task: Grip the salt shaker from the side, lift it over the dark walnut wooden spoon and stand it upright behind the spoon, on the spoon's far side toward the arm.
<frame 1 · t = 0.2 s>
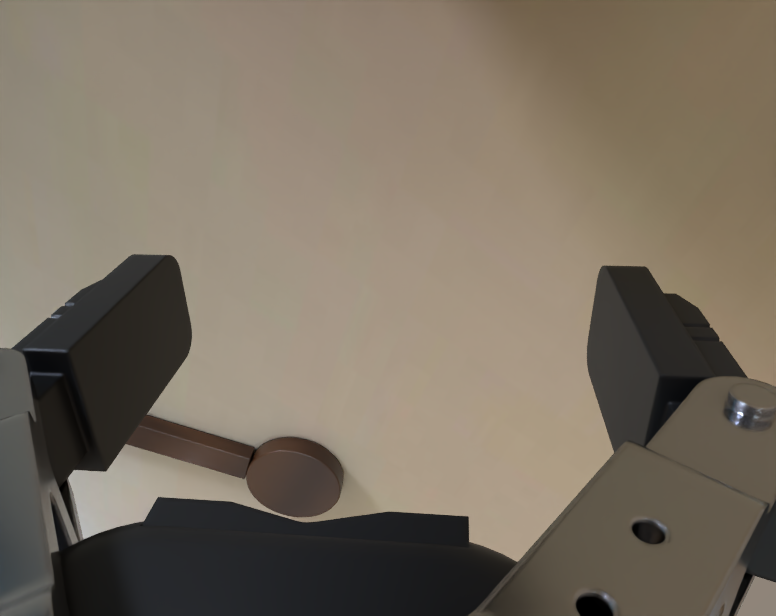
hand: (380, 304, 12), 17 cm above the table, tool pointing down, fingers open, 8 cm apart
wooden spoon: (190, 439, 39), on the table
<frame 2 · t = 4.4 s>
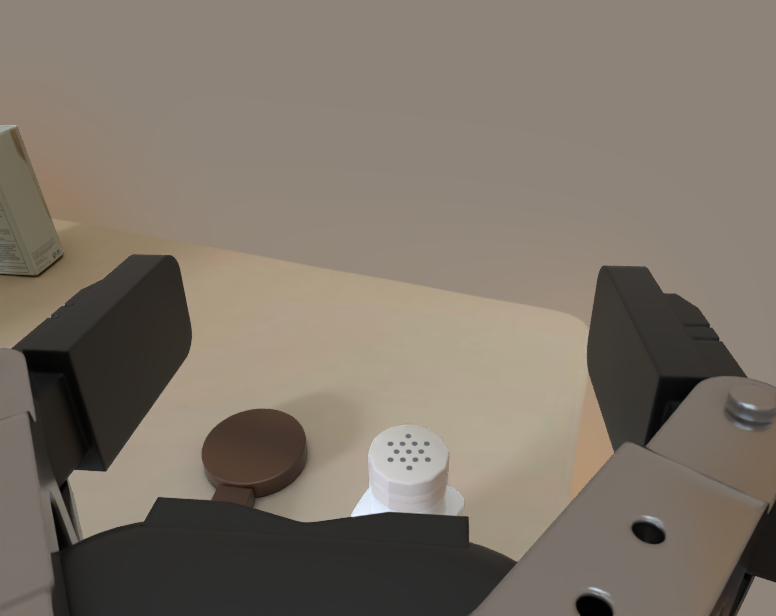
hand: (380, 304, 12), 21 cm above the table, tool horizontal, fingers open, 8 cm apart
salt shaker: (406, 593, 30), on the table
cosmetic box: (21, 265, 57), on the table
wooden spoon: (209, 561, 31), on the table
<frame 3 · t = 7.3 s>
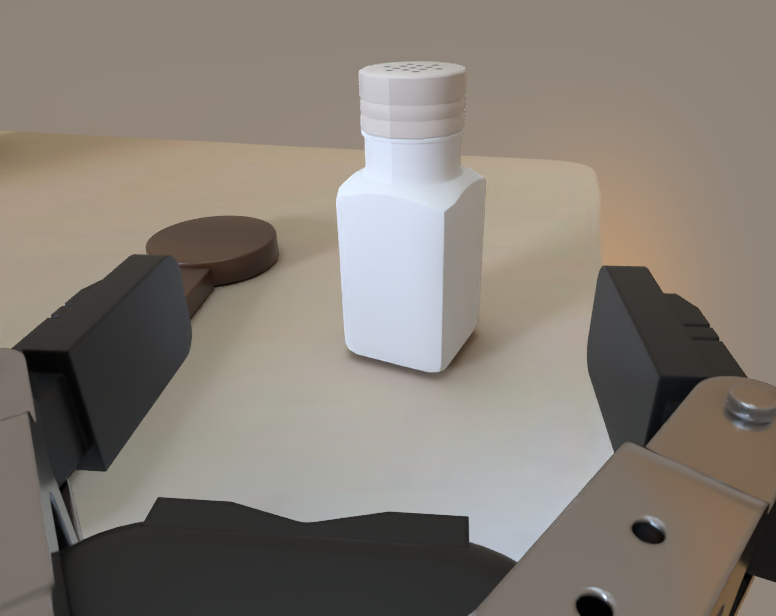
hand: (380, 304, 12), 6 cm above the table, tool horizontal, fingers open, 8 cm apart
salt shaker: (413, 346, 23), on the table
wooden spoon: (153, 334, 24), on the table
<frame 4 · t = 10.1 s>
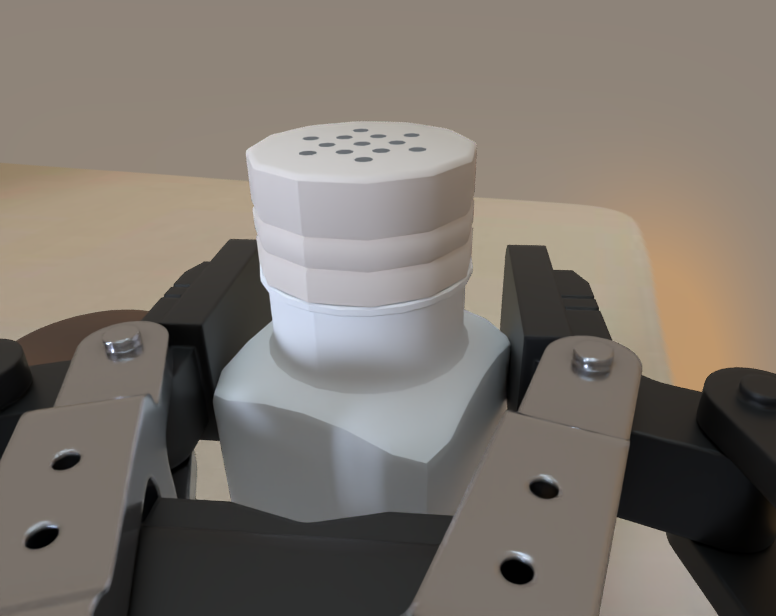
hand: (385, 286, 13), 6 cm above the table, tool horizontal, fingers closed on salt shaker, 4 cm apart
salt shaker: (379, 603, 13), on the table, touching gripper
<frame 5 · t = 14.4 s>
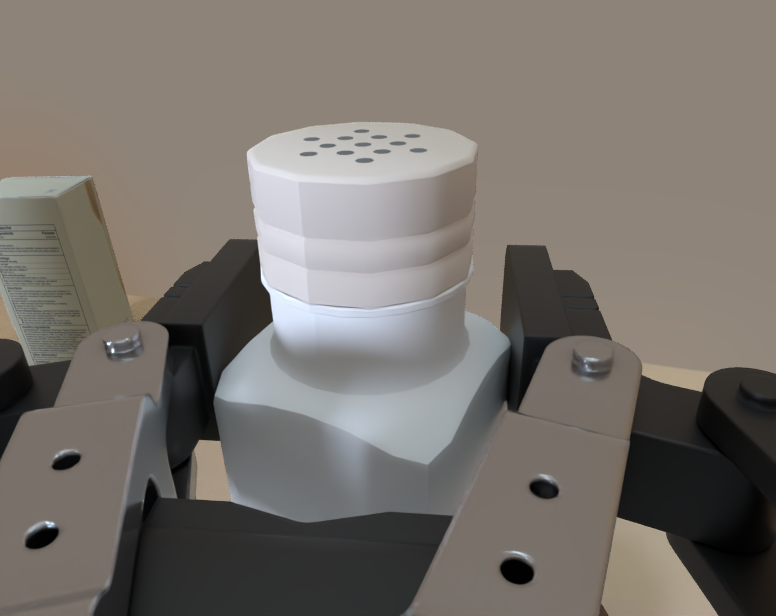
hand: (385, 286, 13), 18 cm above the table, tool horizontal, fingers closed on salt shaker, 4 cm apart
salt shaker: (379, 604, 13), point 11 cm above the table, touching gripper
cosmetic box: (84, 354, 44), on the table
when the fingers open (6 cm above the table, at t = 18.7 s): salt shaker stays where it is, on the table.
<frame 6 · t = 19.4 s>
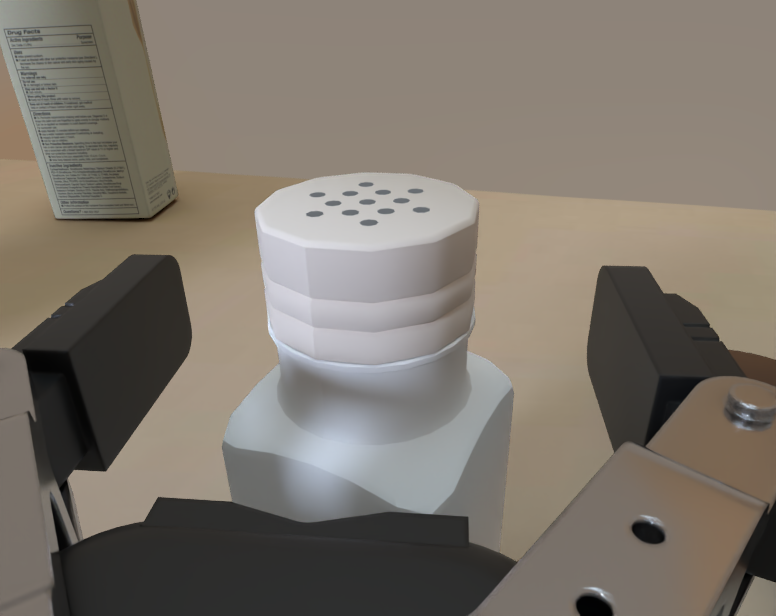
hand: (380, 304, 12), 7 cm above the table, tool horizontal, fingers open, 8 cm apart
cosmetic box: (117, 211, 38), on the table
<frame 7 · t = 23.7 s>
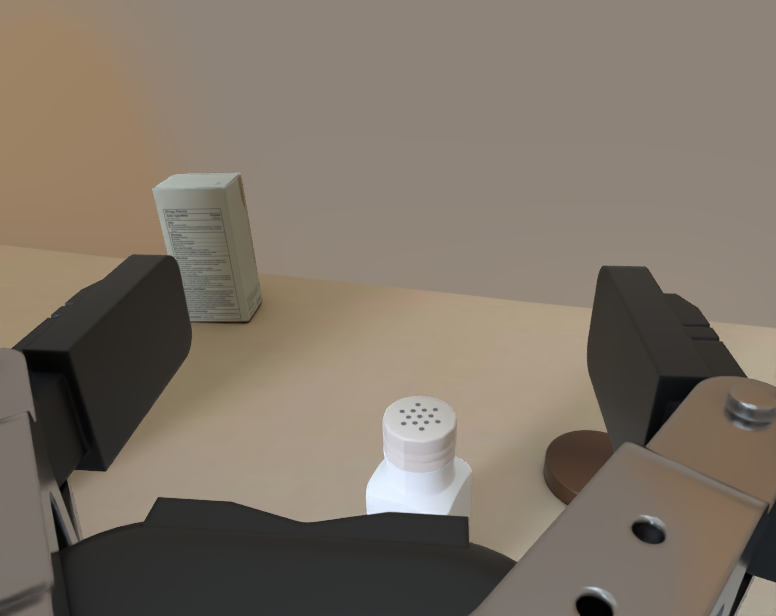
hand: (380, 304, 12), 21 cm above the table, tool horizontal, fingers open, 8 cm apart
salt shaker: (419, 571, 31), on the table
cosmetic box: (222, 313, 56), on the table
wooden spoon: (623, 580, 30), on the table
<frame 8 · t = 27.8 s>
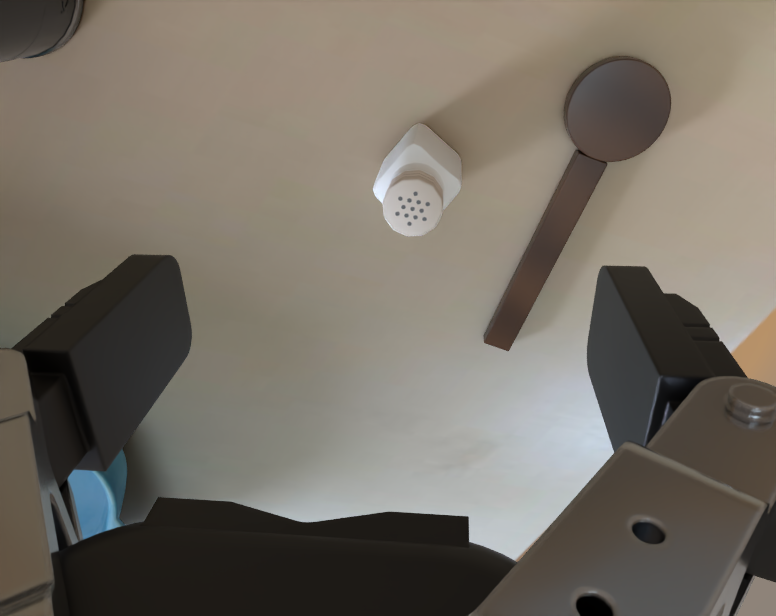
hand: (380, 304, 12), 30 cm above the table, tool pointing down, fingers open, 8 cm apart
salt shaker: (422, 159, 41), on the table
wooden spoon: (562, 210, 41), on the table
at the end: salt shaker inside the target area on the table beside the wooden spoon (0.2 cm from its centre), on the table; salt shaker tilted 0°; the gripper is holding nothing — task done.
